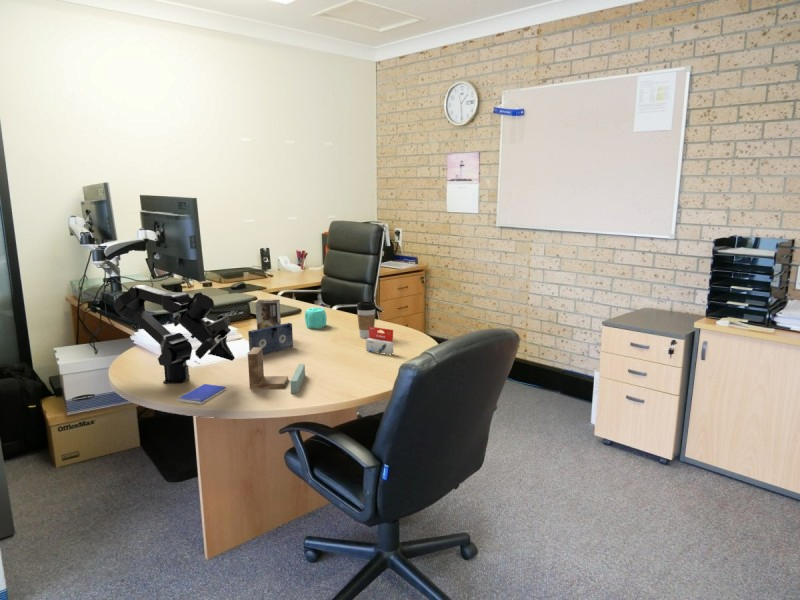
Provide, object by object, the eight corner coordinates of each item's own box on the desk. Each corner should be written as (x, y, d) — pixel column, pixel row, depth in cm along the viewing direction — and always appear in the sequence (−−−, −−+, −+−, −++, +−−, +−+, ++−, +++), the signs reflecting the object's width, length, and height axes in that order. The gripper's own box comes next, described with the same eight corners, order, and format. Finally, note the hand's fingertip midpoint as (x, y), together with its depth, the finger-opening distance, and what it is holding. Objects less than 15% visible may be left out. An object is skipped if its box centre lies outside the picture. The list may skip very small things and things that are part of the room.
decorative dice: (305, 325, 249) (304, 308, 247) (321, 323, 252) (321, 306, 251) (309, 329, 242) (309, 312, 240) (326, 327, 245) (326, 310, 244)
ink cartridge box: (390, 356, 205) (390, 331, 203) (365, 351, 210) (365, 327, 208) (393, 354, 207) (393, 329, 205) (369, 350, 212) (368, 326, 210)
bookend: (249, 388, 172) (247, 354, 170) (255, 380, 179) (253, 347, 177) (284, 388, 172) (282, 353, 170) (288, 380, 179) (286, 347, 177)
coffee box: (281, 335, 232) (280, 299, 228) (279, 340, 225) (277, 302, 222) (260, 336, 231) (258, 299, 228) (257, 340, 225) (255, 302, 222)
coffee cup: (353, 337, 229) (352, 303, 226) (361, 332, 236) (361, 299, 233) (371, 340, 226) (371, 305, 223) (379, 334, 233) (379, 301, 230)
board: (290, 393, 168) (290, 381, 167) (299, 375, 184) (298, 364, 183) (297, 393, 168) (296, 381, 167) (305, 375, 184) (304, 364, 183)
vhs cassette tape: (290, 346, 217) (289, 322, 215) (294, 347, 215) (293, 323, 213) (248, 356, 205) (247, 330, 202) (252, 357, 203) (251, 332, 200)
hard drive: (200, 400, 159) (225, 386, 171) (177, 397, 162) (203, 383, 173) (201, 405, 160) (225, 391, 171) (178, 402, 162) (203, 388, 174)
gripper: (202, 315, 161) (241, 351, 163) (222, 302, 179) (257, 334, 181) (178, 341, 162) (217, 375, 165) (201, 325, 181) (235, 356, 183)
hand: (233, 359), depth 173 cm, fingers closed
